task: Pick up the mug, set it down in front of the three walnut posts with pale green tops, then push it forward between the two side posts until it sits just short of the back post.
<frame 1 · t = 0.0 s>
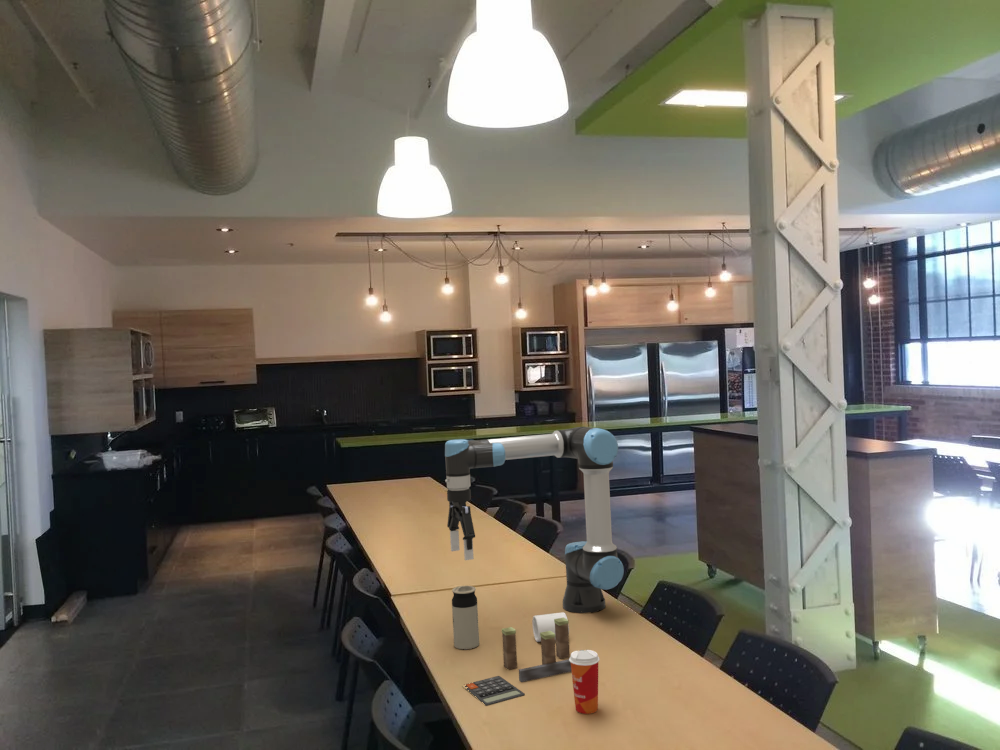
hand: (462, 555, 253), 28 cm above the table, tool pointing down, fingers open, 13 cm apart
paper cup: (586, 710, 201), on the table
travel mug: (466, 646, 251), on the table
header dock: (537, 661, 235), on the table
calculator: (493, 692, 216), on the table
mug: (549, 638, 255), on the table
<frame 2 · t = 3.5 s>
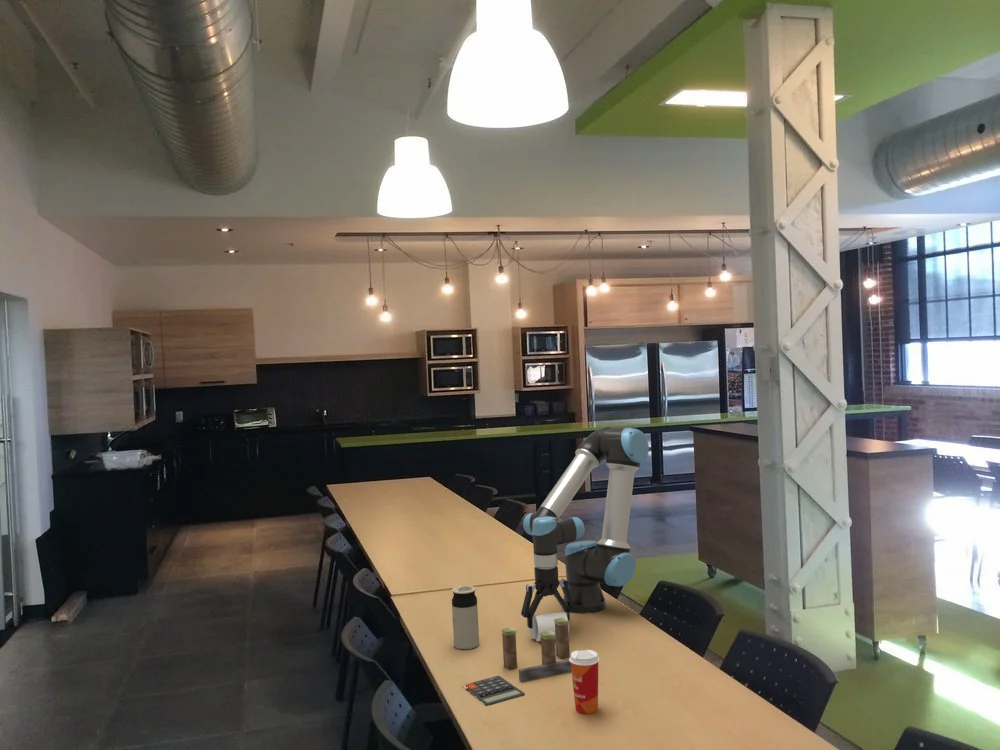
hand: (549, 634, 255), 1 cm above the table, tool pointing down, fingers closed on mug, 10 cm apart
mug: (549, 637, 255), on the table, touching gripper
everything else where it was.
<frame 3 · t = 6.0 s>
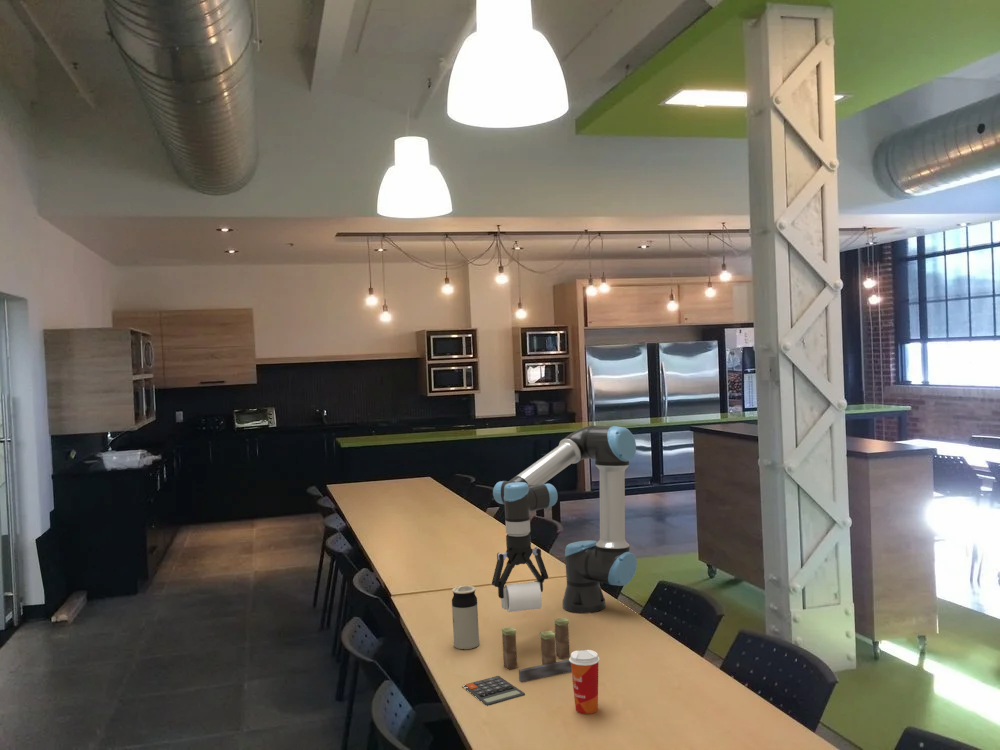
hand: (521, 605, 244), 14 cm above the table, tool pointing down, fingers closed on mug, 10 cm apart
mug: (521, 608, 244), point 13 cm above the table, touching gripper
everything else where it was.
when the fingers open (2 cm above the table, at t = 8.7 s): mug stays where it is, on the table.
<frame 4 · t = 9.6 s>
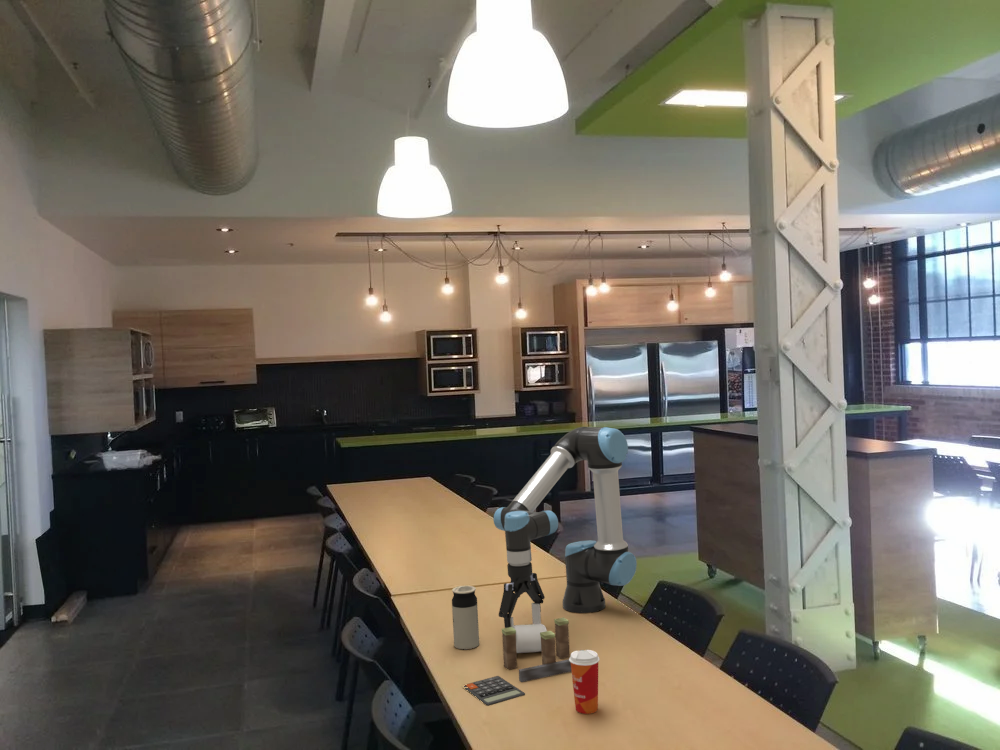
hand: (523, 631, 244), 6 cm above the table, tool pointing down, fingers open, 13 cm apart
mug: (524, 650, 243), on the table, touching gripper
everything else where it was.
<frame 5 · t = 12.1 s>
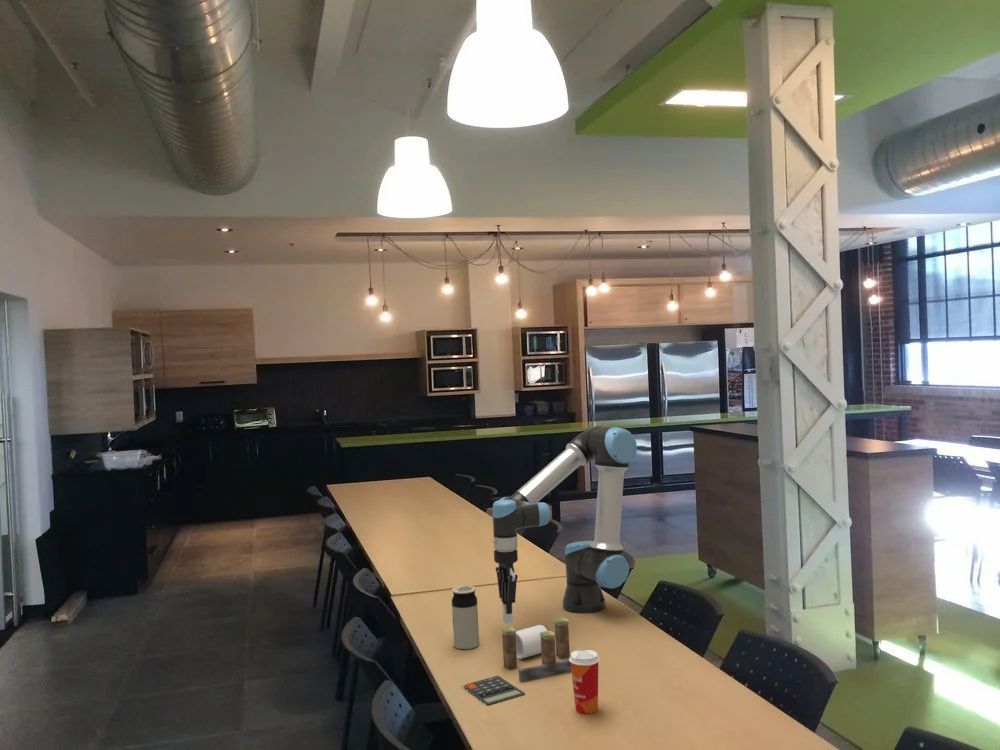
hand: (508, 622, 254), 5 cm above the table, tool pointing down, fingers closed
mug: (526, 653, 242), on the table
everything else where it was.
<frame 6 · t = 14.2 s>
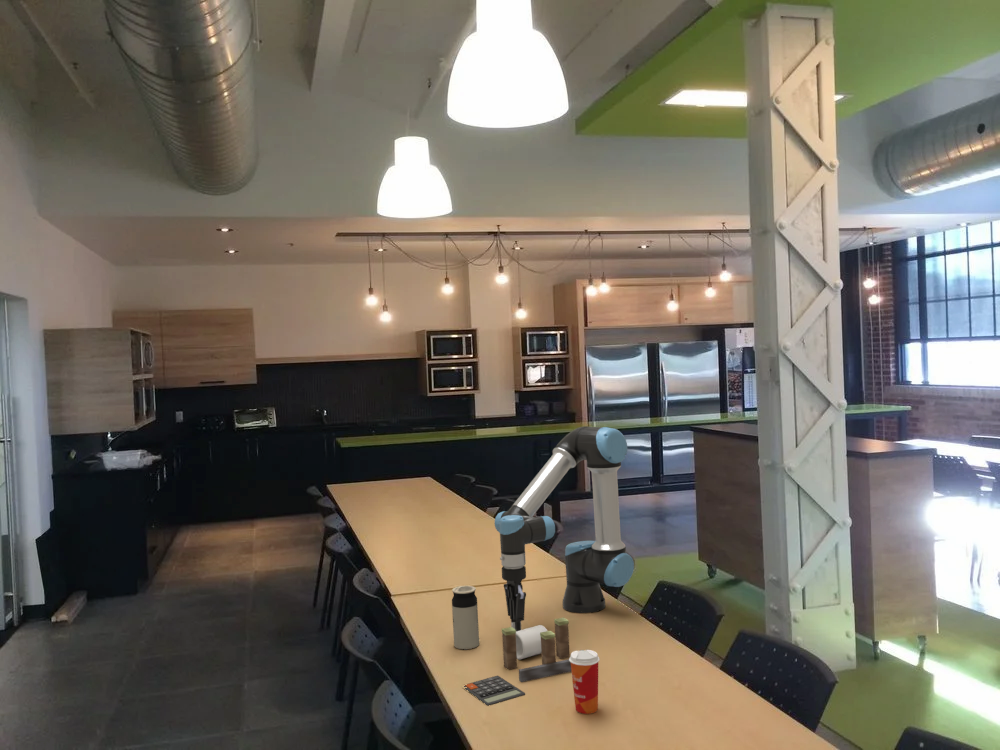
hand: (516, 641, 248), 2 cm above the table, tool pointing down, fingers closed
mug: (526, 653, 242), on the table, touching gripper
everything else where it was.
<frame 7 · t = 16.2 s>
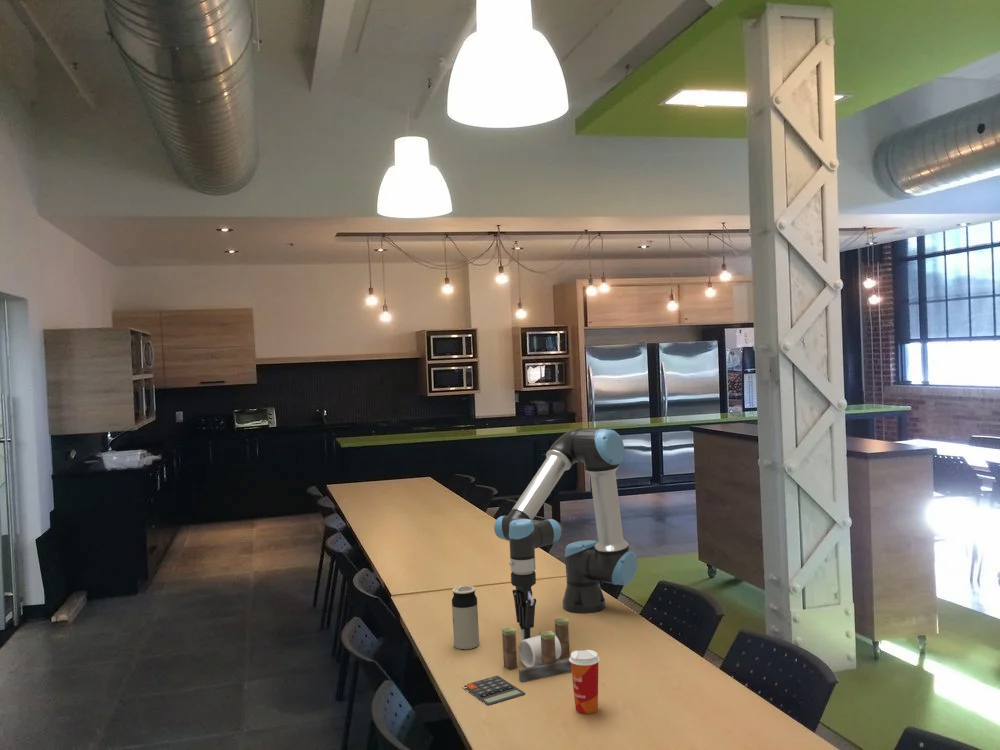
hand: (526, 648, 241), 2 cm above the table, tool pointing down, fingers closed
mug: (536, 662, 235), on the table, touching gripper
everything else where it was.
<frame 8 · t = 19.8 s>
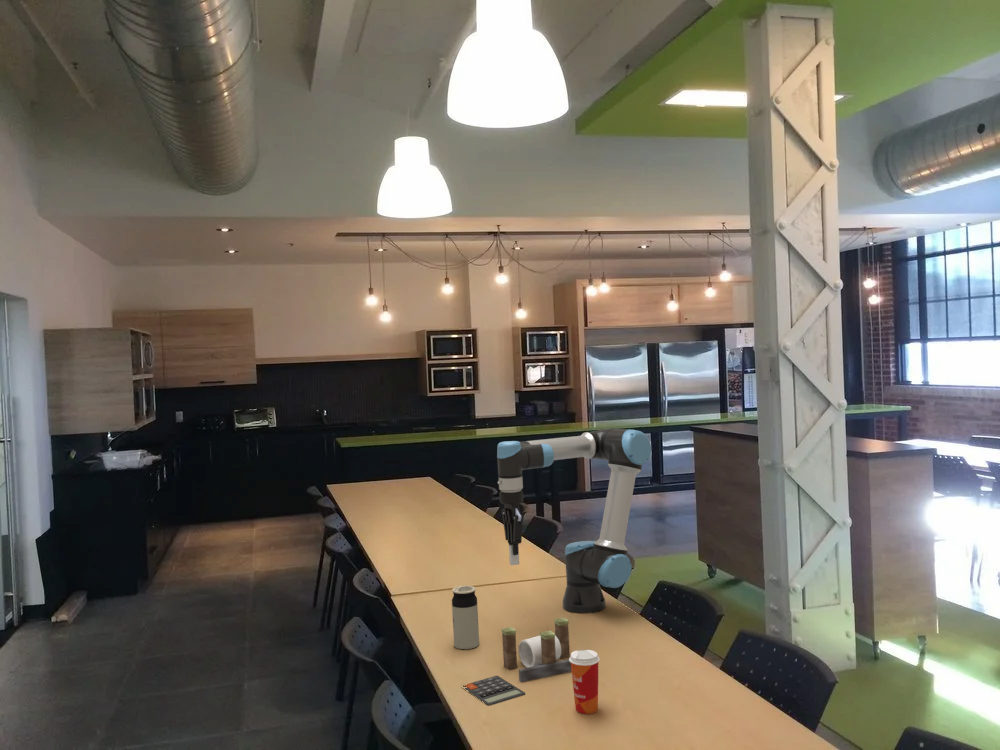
hand: (514, 564, 253), 24 cm above the table, tool pointing down, fingers closed
mug: (536, 662, 235), on the table
everything else where it was.
at the end: mug inside the target area on the header dock (0.2 cm from its centre), point 0.0 cm above the header dock's base; mug tilted 0°; the gripper is holding nothing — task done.
